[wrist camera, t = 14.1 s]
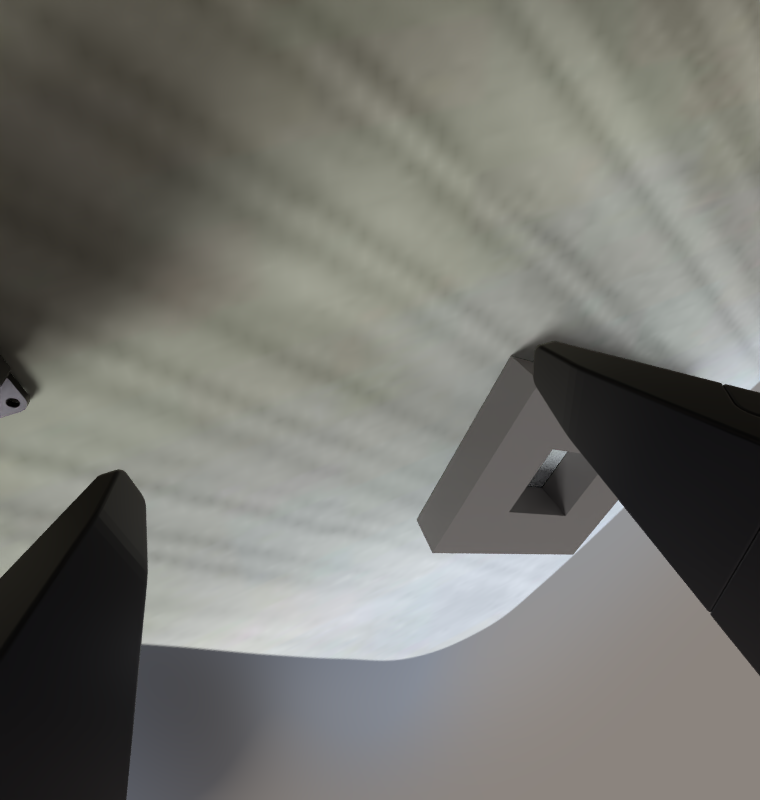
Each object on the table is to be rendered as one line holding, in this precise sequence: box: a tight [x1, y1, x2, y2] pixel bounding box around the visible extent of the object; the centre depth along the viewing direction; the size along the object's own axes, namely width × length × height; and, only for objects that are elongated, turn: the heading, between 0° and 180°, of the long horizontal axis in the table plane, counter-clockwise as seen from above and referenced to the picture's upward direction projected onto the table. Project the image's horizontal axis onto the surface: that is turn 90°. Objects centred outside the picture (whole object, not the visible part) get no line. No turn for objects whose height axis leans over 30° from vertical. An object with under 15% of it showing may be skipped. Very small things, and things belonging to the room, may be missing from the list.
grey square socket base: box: [417, 356, 618, 554], centre depth 32 cm, size 14×14×3 cm
